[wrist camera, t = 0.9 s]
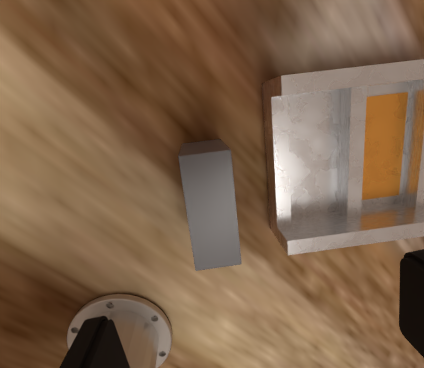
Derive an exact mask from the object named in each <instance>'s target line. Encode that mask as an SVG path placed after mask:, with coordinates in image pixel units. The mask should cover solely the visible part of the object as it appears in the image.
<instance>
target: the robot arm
mask: <svg viewBox="0 0 424 368" xmlns="http://www.w3.org/2000/svg"><path fill="white" fill-rule="evenodd" d="M399 327H400V330H401V332H402V334H403V335H404V337H405V338H406V339H407V340H408V341H409V342H410V343H411V345H412V346H413V347H414V348H415V349H416V350H417V351H418V352H419V353H420V354H421V355H422V356H423V357H424V249H423V250H418V251H413V252H408V253H406V254H405V255H404V258H403V259H402V260H401V262H400V306H399ZM171 343H172V330H171V325H170V323H169V321H168V318H167V317H166V316H165V314H164V313H163V312H162V311H161V310H160V309H159V308H158V307H157V306H156V305H154V304H153V303H151V302H150V301H148V300H146V299H143V298H140V297H137V296H133V295H127V294H113V295H107V296H103V297H99V298H97V299H95V300H92V301H90V302H89V303H87V304H86V305H85V306H83V307H82V308H81V309H80V310H79V311H78V312H77V313H76V315H75V317H74V318H73V320H72V322H71V324H70V326H69V328H68V332H67V346H68V349H69V351H68V353H67V355H66V356H65V358H64V360H63V362H62V364H61V366H60V368H158V367H159V366H160V365H161V364H163V362H164V361H165V359H166V358H167V356H168V354H169V352H170V349H171Z"/></svg>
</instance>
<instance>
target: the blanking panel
mask: <svg viewBox="0 0 424 368" xmlns="http://www.w3.org/2000/svg"><path fill="white" fill-rule="evenodd" d="M178 158H179V165H180V171H181V178H182V184H183V191H184V198H185V204H186V211H187V217H188V224H189V231H190V237H191V244H192V250H193V257H194V264H195V270H196V271H197V270H205V269H212V268H219V267H226V266H233V265H240V264H241V254H240V243H239V232H238V222H237V211H236V201H235V190H234V180H233V169H232V158H231V150H230V149H229V148H228V147H227V145H226V144H225V143H224V142H223V141H222V140H221V139H216V140H208V141H199V142H191V143H183V144H182V146H181V149H180V152H179V156H178Z"/></svg>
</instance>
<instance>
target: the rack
mask: <svg viewBox="0 0 424 368" xmlns="http://www.w3.org/2000/svg"><path fill="white" fill-rule="evenodd" d="M262 95H263V113H264V130H265V148H266V165H267V183H268V200H269V218H270V229H271V230H272V232H273V233H274V235H275V236H276V238H277V239H278V241H279V242H280V244H281V245H282V247H283V248H284V250H285V252H286V253H287V255H293V254H300V253H308V252H315V251H322V250H329V249H336V248H343V247H350V246H357V245H365V244H372V243H379V242H386V241H393V240H400V239H407V238H414V237H421V236H424V59H421V60H412V61H403V62H394V63H386V64H377V65H368V66H360V67H351V68H342V69H334V70H325V71H316V72H308V73H299V74H290V75H282V76H279V77H276V78H274V79H271V80H269V81H266V82H264V83H262Z"/></svg>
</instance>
